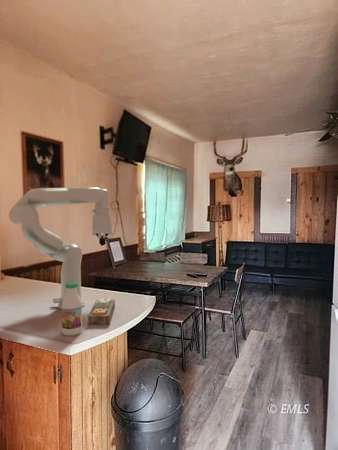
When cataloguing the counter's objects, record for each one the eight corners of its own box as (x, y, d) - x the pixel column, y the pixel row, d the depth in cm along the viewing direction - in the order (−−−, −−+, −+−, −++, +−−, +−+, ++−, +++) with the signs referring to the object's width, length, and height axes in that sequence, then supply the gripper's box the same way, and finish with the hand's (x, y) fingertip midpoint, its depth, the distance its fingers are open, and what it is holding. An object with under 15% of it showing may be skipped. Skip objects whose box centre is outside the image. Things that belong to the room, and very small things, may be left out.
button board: (88, 325, 132) (87, 316, 132) (96, 307, 156) (96, 299, 155) (109, 325, 133) (109, 315, 133) (114, 307, 156) (114, 299, 156)
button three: (93, 323, 134) (93, 312, 134) (95, 319, 139) (95, 308, 139) (105, 323, 135) (105, 311, 134) (106, 319, 140) (106, 308, 139)
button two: (96, 313, 142) (95, 302, 141) (97, 309, 146) (97, 298, 146) (107, 313, 142) (107, 301, 142) (108, 309, 147) (108, 298, 147)
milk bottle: (64, 329, 129) (63, 280, 128) (84, 328, 129) (83, 280, 128) (60, 336, 121) (58, 285, 120) (80, 336, 122) (79, 285, 121)
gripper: (86, 212, 166) (87, 246, 167) (115, 212, 168) (115, 246, 169) (89, 211, 174) (89, 244, 175) (116, 211, 175) (116, 244, 176)
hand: (102, 245), depth 172 cm, fingers closed
